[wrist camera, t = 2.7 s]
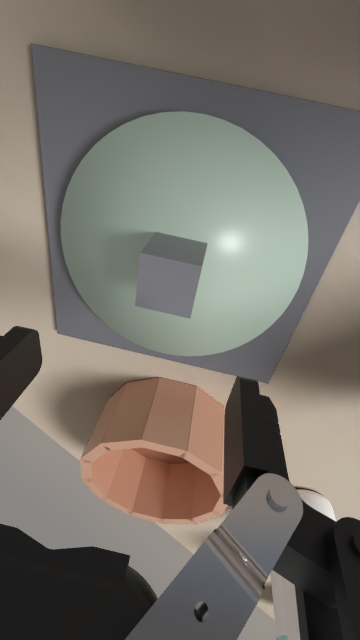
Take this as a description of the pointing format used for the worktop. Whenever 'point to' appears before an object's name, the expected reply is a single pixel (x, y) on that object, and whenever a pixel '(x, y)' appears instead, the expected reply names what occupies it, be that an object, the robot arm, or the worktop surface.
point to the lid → (184, 233)
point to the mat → (218, 101)
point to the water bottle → (289, 593)
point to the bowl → (159, 453)
